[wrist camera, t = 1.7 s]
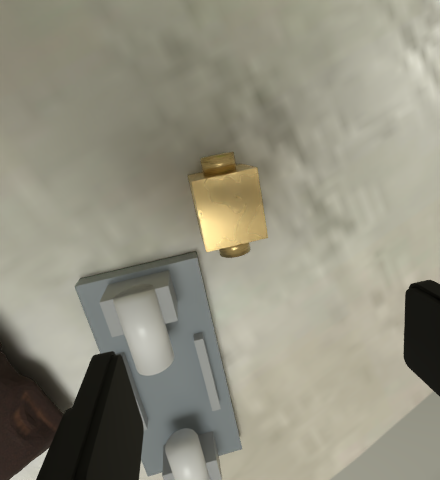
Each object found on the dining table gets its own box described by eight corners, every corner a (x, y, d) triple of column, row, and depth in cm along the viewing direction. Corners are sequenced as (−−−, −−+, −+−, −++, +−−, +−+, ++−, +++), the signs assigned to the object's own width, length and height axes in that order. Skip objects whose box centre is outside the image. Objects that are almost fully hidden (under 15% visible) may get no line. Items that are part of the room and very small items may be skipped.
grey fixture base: (80, 278, 26) (53, 316, 20) (195, 251, 26) (201, 280, 21) (149, 462, 33) (143, 528, 27) (239, 436, 33) (252, 495, 28)
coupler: (184, 160, 24) (186, 163, 19) (238, 148, 25) (254, 149, 20) (203, 246, 27) (210, 267, 22) (253, 234, 27) (270, 253, 22)
